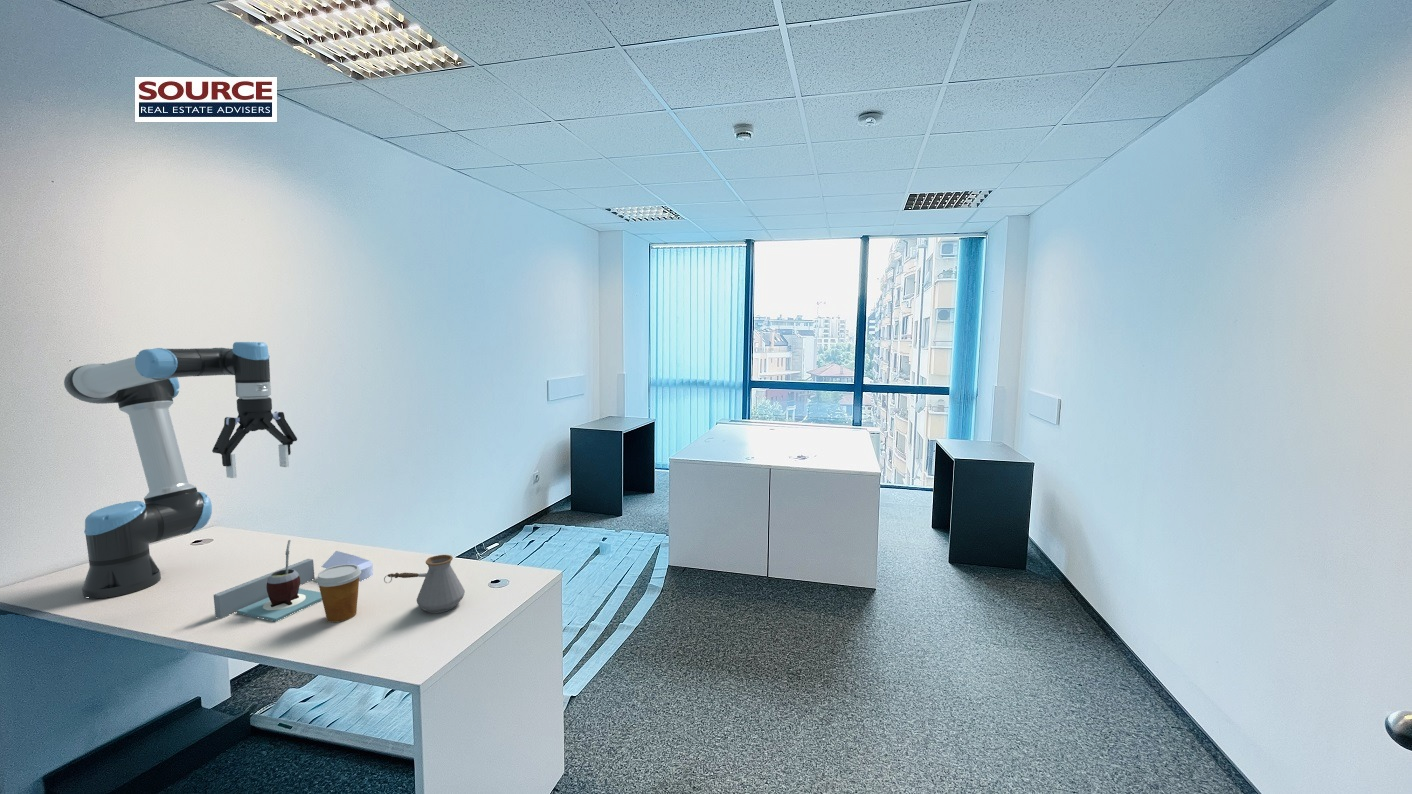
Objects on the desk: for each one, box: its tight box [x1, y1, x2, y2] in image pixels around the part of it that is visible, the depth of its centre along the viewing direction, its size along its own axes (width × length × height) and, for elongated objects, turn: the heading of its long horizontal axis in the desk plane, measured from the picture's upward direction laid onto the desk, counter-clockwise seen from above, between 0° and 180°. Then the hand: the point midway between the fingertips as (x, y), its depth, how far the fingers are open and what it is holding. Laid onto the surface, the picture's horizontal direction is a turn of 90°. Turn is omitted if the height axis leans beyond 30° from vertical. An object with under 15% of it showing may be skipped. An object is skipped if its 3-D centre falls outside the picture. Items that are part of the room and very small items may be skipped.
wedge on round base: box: [321, 550, 374, 582], centre depth 161 cm, size 9×7×13 cm
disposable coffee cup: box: [315, 564, 361, 623], centre depth 137 cm, size 10×10×12 cm
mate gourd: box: [267, 539, 301, 607], centre depth 142 cm, size 8×8×15 cm
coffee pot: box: [383, 554, 466, 614], centre depth 137 cm, size 21×12×15 cm, turn 161°
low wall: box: [212, 558, 316, 619], centre depth 147 cm, size 2×24×6 cm, turn 163°
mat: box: [236, 587, 322, 622], centre depth 143 cm, size 14×14×1 cm
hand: (259, 472), depth 152 cm, fingers open, 13 cm apart
